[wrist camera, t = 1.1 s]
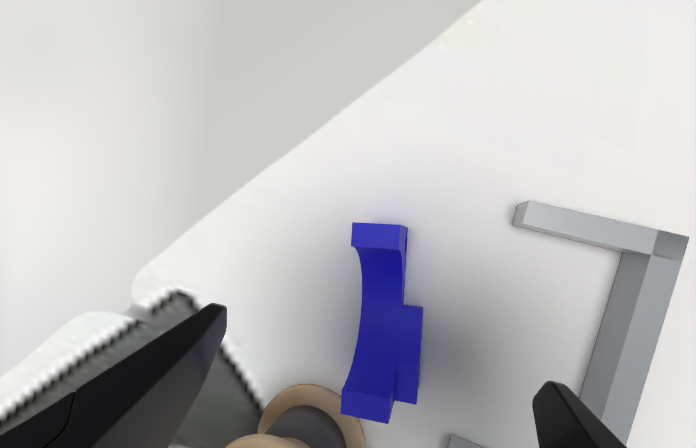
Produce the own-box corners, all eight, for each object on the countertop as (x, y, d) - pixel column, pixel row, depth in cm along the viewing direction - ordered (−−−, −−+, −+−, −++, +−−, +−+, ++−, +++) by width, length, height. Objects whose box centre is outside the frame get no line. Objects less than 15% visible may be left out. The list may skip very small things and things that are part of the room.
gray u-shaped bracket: (573, 509, 22) (593, 549, 19) (446, 453, 24) (447, 482, 22) (655, 236, 22) (689, 236, 19) (517, 204, 24) (529, 200, 21)
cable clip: (418, 385, 25) (413, 429, 20) (361, 375, 27) (340, 413, 21) (427, 228, 26) (425, 226, 20) (370, 225, 27) (352, 222, 21)
